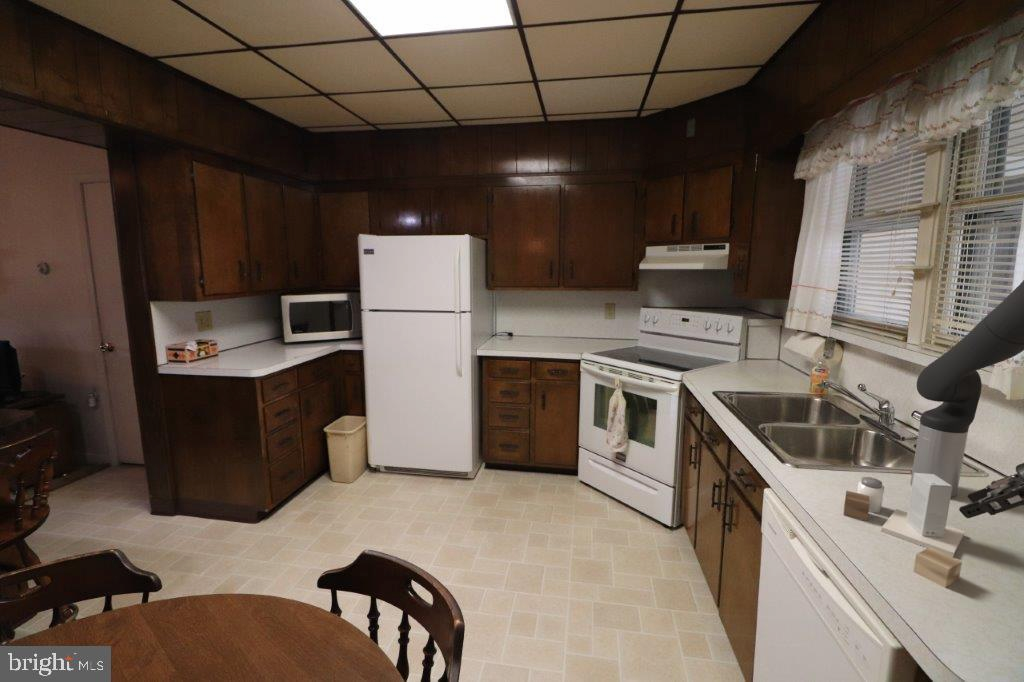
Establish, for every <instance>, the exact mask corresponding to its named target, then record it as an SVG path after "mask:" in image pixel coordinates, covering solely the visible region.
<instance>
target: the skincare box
mask: <svg viewBox="0 0 1024 682" xmlns="http://www.w3.org/2000/svg"><path fill="white" fill-rule="evenodd" d="M951 493H952V486H951V485H950V484H948V483H947V482H945V481H943V480H942V479H940V478H939V477H937V476H936V475H934V474H924V473H914V476H913V482H912V485H911V490H910V495H909V500H908V507H907V508H908V509H907V519H906V522H908V523H909V524H910V525H911V526H912V527H913V528H914V529H916V530H917V531H918V532H919V533H920V534H921V535H923V536H932V537H944V533H945V527H946V525H947V520H948V517H949V516H948V514H949V508H950V504H951V499H952V497H951Z"/></svg>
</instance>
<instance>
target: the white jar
mask: <svg viewBox="0 0 1024 682" xmlns="http://www.w3.org/2000/svg"><path fill="white" fill-rule="evenodd" d="M856 493H859V494H863V495H868V496H869V501H870V505H869V511H868V513H873V514H878V513H881V511H882V505H883V499H884V493H885V486H884V485H883V482H882V480H879V479H878V478H875V477H869V476H864V477H863V476H862V477H861V479H860V480H859V481H858V485H857V491H856Z"/></svg>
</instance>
